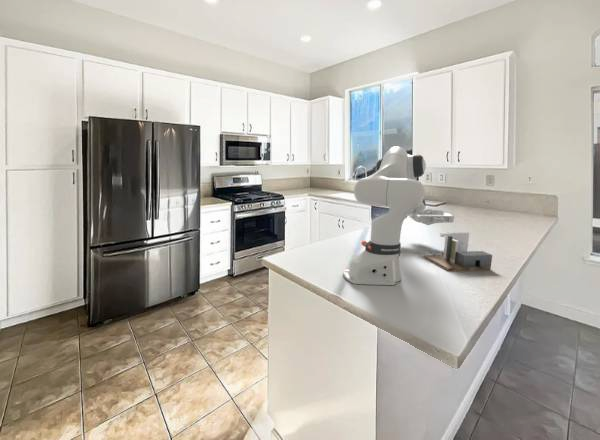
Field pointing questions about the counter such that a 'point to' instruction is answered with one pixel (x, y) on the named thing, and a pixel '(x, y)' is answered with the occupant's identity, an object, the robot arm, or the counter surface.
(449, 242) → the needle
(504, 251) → the counter surface
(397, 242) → the robot arm
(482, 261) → the stand
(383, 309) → the counter surface
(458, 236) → the light grey boxy piece
